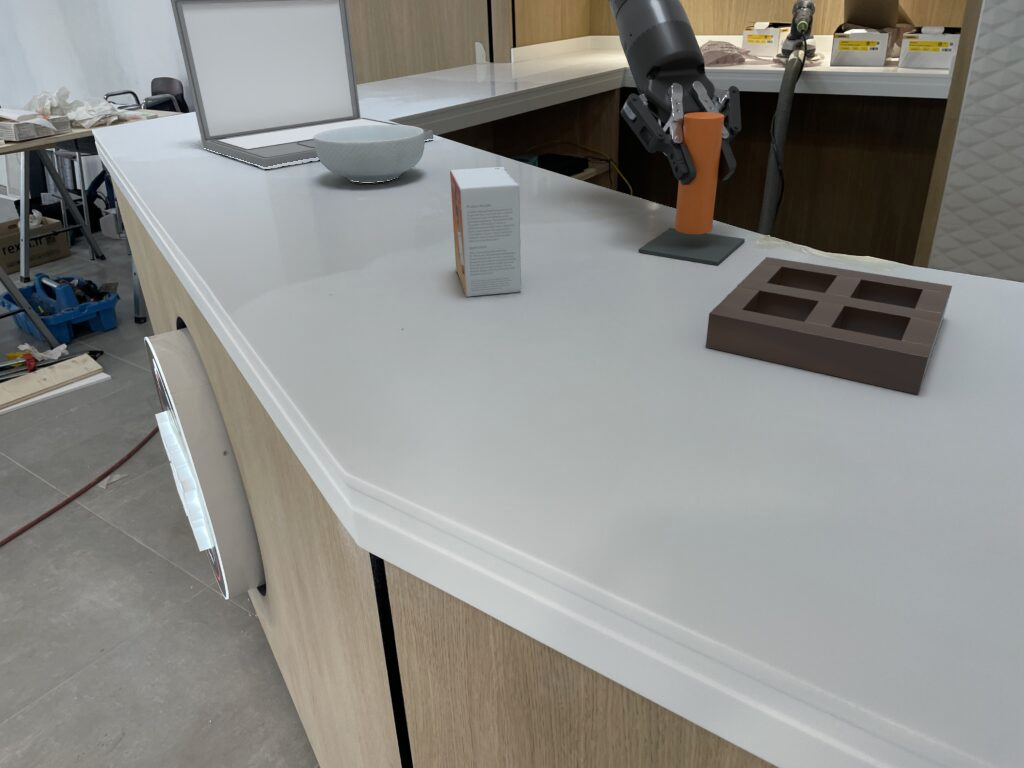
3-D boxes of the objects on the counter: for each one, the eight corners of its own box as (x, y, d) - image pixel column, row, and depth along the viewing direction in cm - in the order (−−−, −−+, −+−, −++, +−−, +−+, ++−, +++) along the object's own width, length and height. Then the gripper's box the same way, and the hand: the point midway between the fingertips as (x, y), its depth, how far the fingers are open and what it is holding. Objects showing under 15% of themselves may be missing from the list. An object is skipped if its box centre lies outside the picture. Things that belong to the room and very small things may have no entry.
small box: (455, 270, 77) (448, 168, 72) (507, 265, 78) (504, 165, 73) (465, 298, 70) (458, 187, 65) (522, 292, 71) (519, 183, 66)
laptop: (266, 170, 123) (233, -5, 110) (203, 149, 141) (169, -3, 128) (433, 140, 143) (422, -11, 130) (359, 125, 161) (343, -9, 148)
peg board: (762, 286, 71) (766, 256, 69) (943, 318, 63) (952, 285, 62) (705, 347, 59) (709, 313, 58) (918, 395, 52) (928, 357, 50)
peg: (682, 222, 83) (692, 111, 77) (716, 227, 81) (729, 113, 75) (669, 231, 80) (678, 116, 75) (704, 236, 78) (716, 119, 73)
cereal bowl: (447, 171, 119) (444, 125, 115) (386, 195, 106) (380, 145, 102) (364, 163, 126) (358, 120, 122) (297, 185, 113) (289, 137, 109)
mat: (669, 231, 87) (670, 227, 87) (744, 242, 83) (745, 238, 83) (638, 252, 81) (638, 248, 80) (717, 265, 76) (718, 261, 76)
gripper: (612, 20, 75) (664, 164, 71) (730, 15, 79) (786, 150, 75) (589, 71, 82) (635, 205, 78) (698, 64, 86) (748, 190, 82)
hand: (709, 177), depth 76 cm, fingers closed on peg, 4 cm apart
